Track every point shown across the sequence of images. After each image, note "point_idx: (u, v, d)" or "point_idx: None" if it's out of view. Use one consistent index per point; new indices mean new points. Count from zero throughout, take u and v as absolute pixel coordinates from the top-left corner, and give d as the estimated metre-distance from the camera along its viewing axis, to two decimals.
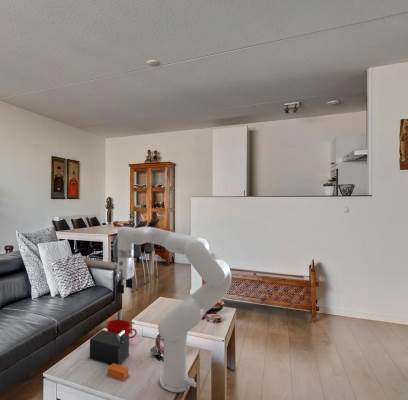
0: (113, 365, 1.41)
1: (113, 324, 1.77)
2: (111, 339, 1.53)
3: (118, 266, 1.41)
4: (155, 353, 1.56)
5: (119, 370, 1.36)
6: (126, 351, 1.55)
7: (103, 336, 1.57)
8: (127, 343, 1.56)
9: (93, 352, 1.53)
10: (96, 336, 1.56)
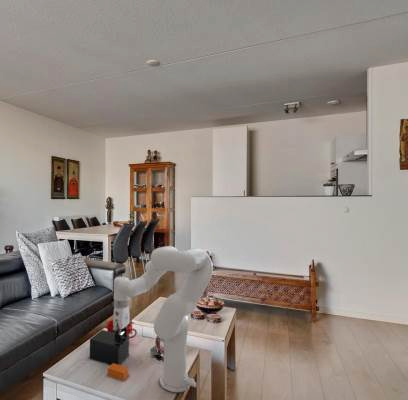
0: (113, 365, 1.41)
1: None
2: (111, 339, 1.53)
3: (114, 316, 1.49)
4: (155, 353, 1.56)
5: (119, 370, 1.36)
6: (126, 351, 1.55)
7: (103, 336, 1.57)
8: (127, 343, 1.56)
9: (93, 352, 1.53)
10: (96, 336, 1.56)
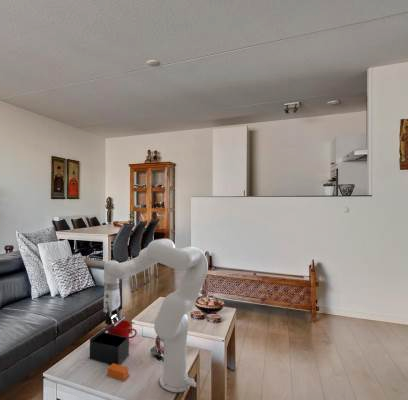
0: (113, 365, 1.41)
1: None
2: (107, 327, 1.54)
3: (104, 298, 1.52)
4: (155, 353, 1.56)
5: (119, 370, 1.36)
6: (126, 351, 1.55)
7: (101, 330, 1.57)
8: (127, 343, 1.56)
9: (93, 352, 1.53)
10: None
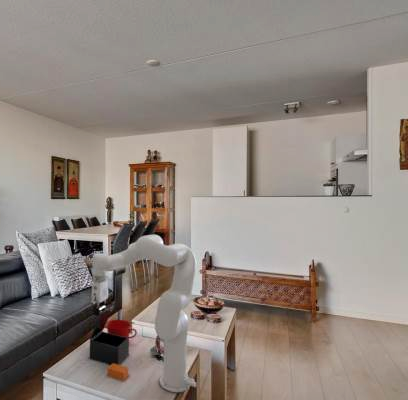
0: (113, 365, 1.41)
1: (113, 324, 1.77)
2: None
3: (92, 290, 1.55)
4: (155, 353, 1.56)
5: (119, 370, 1.36)
6: (126, 351, 1.55)
7: None
8: (127, 343, 1.56)
9: (93, 352, 1.53)
10: None
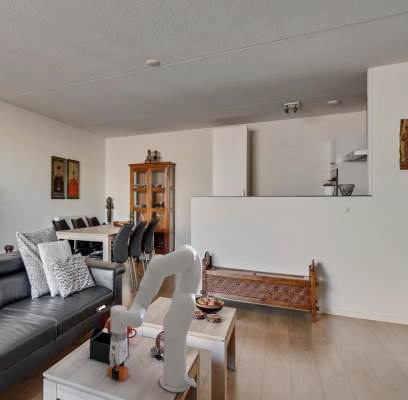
0: None
1: None
2: None
3: (111, 350, 1.35)
4: (155, 353, 1.56)
5: (119, 370, 1.36)
6: None
7: None
8: None
9: (93, 352, 1.53)
10: None
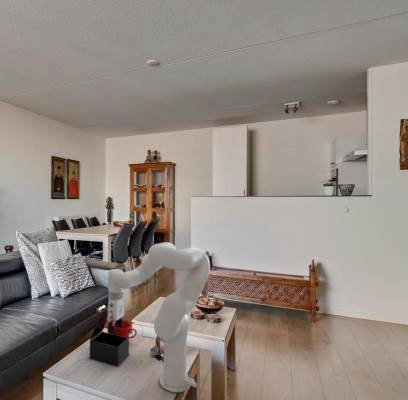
0: None
1: None
2: None
3: (109, 308, 1.50)
4: (155, 353, 1.56)
5: None
6: (126, 351, 1.55)
7: None
8: (127, 343, 1.56)
9: (93, 352, 1.53)
10: None
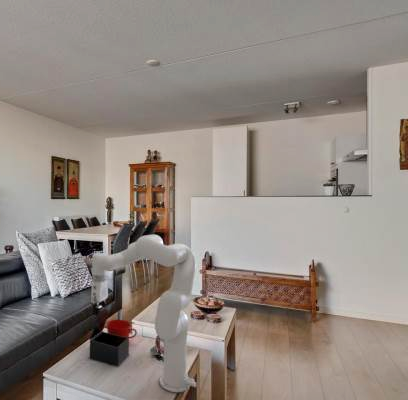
0: None
1: (113, 324, 1.77)
2: None
3: (92, 290, 1.55)
4: (155, 353, 1.56)
5: None
6: (126, 351, 1.55)
7: None
8: (127, 343, 1.56)
9: (93, 352, 1.53)
10: None
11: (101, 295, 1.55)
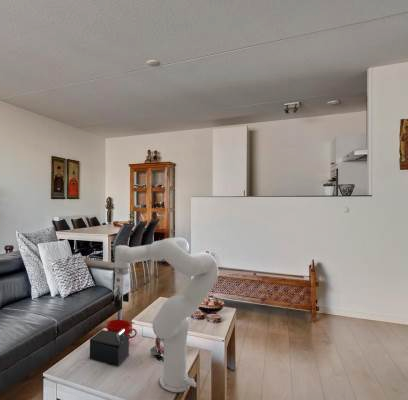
0: None
1: (113, 324, 1.77)
2: (111, 338, 1.53)
3: (115, 282, 1.52)
4: (155, 353, 1.56)
5: None
6: (126, 351, 1.55)
7: (103, 336, 1.57)
8: (127, 343, 1.56)
9: (93, 352, 1.53)
10: (96, 336, 1.56)
11: (124, 288, 1.52)
